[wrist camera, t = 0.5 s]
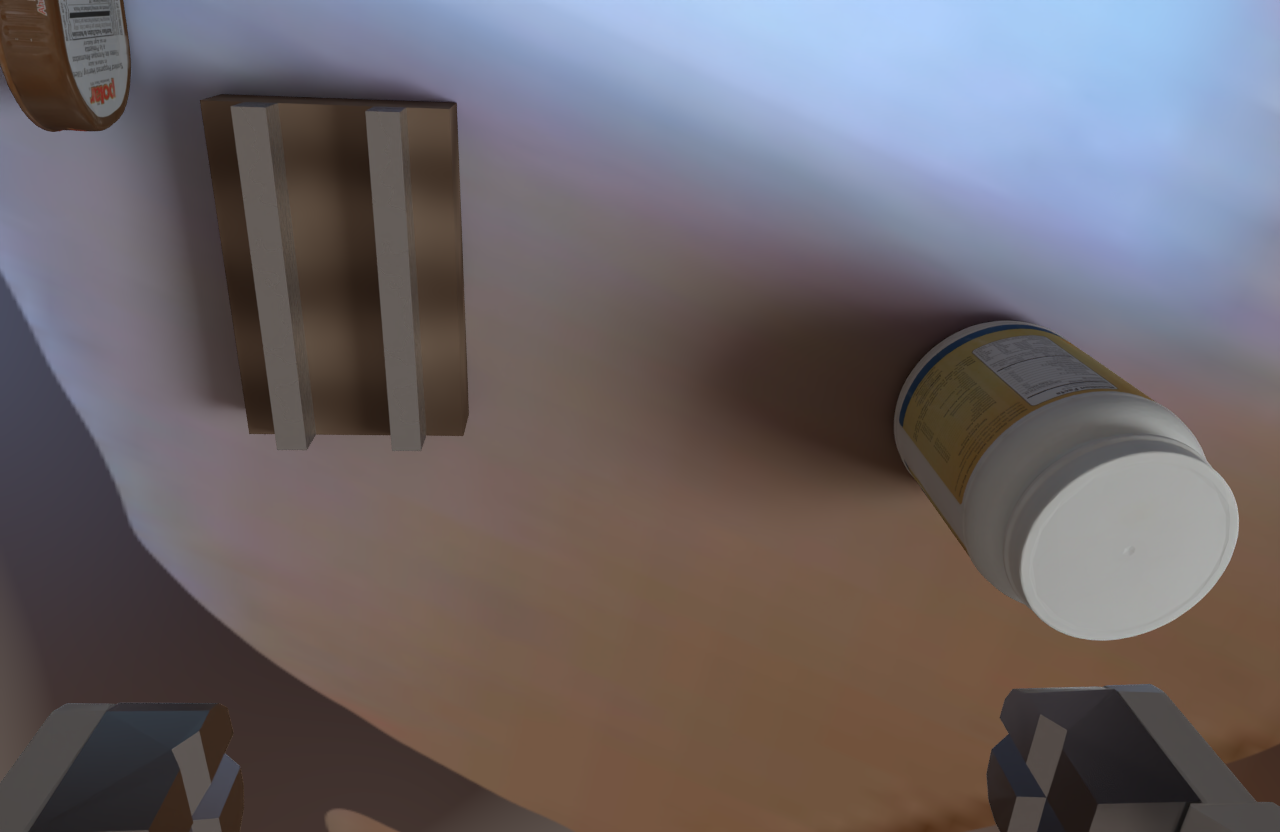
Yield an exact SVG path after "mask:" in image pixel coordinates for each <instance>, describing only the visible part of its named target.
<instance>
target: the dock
mask: <svg viewBox="0 0 1280 832" xmlns="http://www.w3.org/2000/svg"><path fill="white" fill-rule="evenodd" d="M200 104H201V111H202V117H203V124H204V131H205V138H206V144H207V151H208V158H209V165H210V171H211V178H212V185H213V192H214V198H215V205H216V212H217V219H218V225H219V232H220V239H221V246H222V252H223V259H224V266H225V273H226V279H227V286H228V293H229V300H230V306H231V313H232V320H233V327H234V333H235V340H236V347H237V354H238V360H239V367H240V374H241V381H242V387H243V394H244V401H245V408H246V414H247V421H248V428H249V434H275V438H276V446H277V450H307V449H308V447H309V446H310V444H311V442H312V441H313V439H314V437H315V436H316V434H323V435H391V446H392V451H421V450H422V447H423V444H424V441H425V438H426V435H432V436H463V435H464V431H465V427H466V423H467V419H468V416H469V407H468V381H467V355H466V330H465V304H464V279H463V253H462V227H461V202H460V176H459V151H458V125H457V103H452V102H424V101H396V100H368V99H340V98H312V97H285V96H257V95H229V94H220V95H217V96H213V97H210V98H206V99H203V100H200Z"/></svg>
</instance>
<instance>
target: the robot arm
mask: <svg viewBox="0 0 1280 832" xmlns="http://www.w3.org/2000/svg"><path fill="white" fill-rule="evenodd" d="M1000 719H1001V721H1002V722H1003V724H1004V726H1005V728H1006V729H1007V731H1008V733H1009V734H1008V735H1007V736H1006V737H1005V738H1004V739H1003V740H1002V741H1000V742H999V743H998V744H997V745H996V746H995V747H994V748H993V749H992V750H991V755H990V760H989V764H988V769H987V786H988V799H989V803H990V807H991V810H992V813H993V817H994V820H995V822H996V824H997V827H998V829H999V831H1000V832H1280V807H1279V806H1278V805H1276V804H1274V803H1272V802H1256V801H1255V799H1254V798H1253V797H1252V796H1251V795H1250V793H1249V792H1248V791H1247V790H1246V789H1245V788H1244V786H1243V785H1242V784H1241V783H1240V782H1239V780H1237V778H1236V777H1235V776H1234V774H1233V773H1232V772H1231V771H1230V770H1229V769H1228V767H1227V766H1226V765H1225V764H1224V763H1223V761H1222V760H1221V759H1220V758H1219V757H1218V755H1217V754H1216V753H1215V752H1214V751H1213V749H1212V748H1211V747H1210V746H1209V745H1208V744H1207V742H1206V741H1205V740H1204V739H1203V738H1202V736H1201V735H1200V734H1199V733H1198V732H1197V730H1196V729H1195V728H1194V727H1193V726H1192V725H1191V723H1190V722H1189V721H1188V720H1187V719H1186V717H1185V716H1184V715H1183V714H1182V713H1181V711H1180V710H1179V709H1178V708H1177V707H1176V706H1175V704H1174V703H1173V702H1172V701H1171V700H1170V698H1169V697H1168V696H1167V695H1166V694H1165V693H1164V692H1163V691H1162V690H1160V689H1158V688H1157V687H1155V686H1153V685H1151V684H1141V685H1113V686H1104V687H1066V688H1028V689H1012V691H1011V692H1010V693H1009V695H1008V696H1007V697H1006V698H1005V701H1004V704H1003V708H1002V711H1001V715H1000ZM232 736H233V729H232V725H231V721H230V717H229V713H228V708H226V707H225V706H223V705H221V704H219V703H118V704H68V703H67V704H65V705H63V706H62V707H60V708H58V709H57V710H55V711H53V712H52V713H51V714H50V715H49V717H48V718H47V720H46V721H45V722H44V724H43V725H42V726H41V728H40V729H39V730H38V732H37V733H36V735H35V736H34V737H33V739H32V740H31V741H30V743H29V744H28V746H27V747H26V748H25V750H24V751H23V752H22V754H21V755H20V757H19V758H18V759H17V761H16V762H15V764H14V765H13V766H12V768H11V769H10V770H9V772H8V773H7V775H6V776H5V777H4V779H3V780H2V781H1V783H0V832H240V827H241V821H242V816H243V810H244V785H243V779H242V774H241V768H240V766H239V765H238V764H237V763H235V762H234V761H233V760H232V759H231V758H230V757H228V756H227V755H226V754H225V751H226V749H227V747H228V744H229V742H230V740H231V738H232Z"/></svg>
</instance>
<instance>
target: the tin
mask: <svg viewBox="0 0 1280 832" xmlns="http://www.w3.org/2000/svg"><path fill="white" fill-rule="evenodd" d="M0 65H1V68H2V71H3V73H4V76H5V78H6V81H7V84H8V86H9V88H10V90H11V92H12V94H13V96H14V98H15V100H16V102H17V103H18V104H19V106H20V108H21V110H22V111H23V112H24V113H25V115H26V116H27V117H28V118H29V119H30V120H31V121H32V122H33V123H34V124H35V125H36V126H38V127H40V128H42V129H44V130H46V131H51V132H56V131H61V130H75V131H102V130H105V129H107V128H109V127H110V126H111V125H112V124H113V123H115V122H116V121H117V120H118V119H119V118H120V117H121V115H122V114H123V112H124V110H125V107H126V104H127V100H128V95H129V88H130V76H131V59H130V47H129V39H128V32H127V24H126V17H125V10H124V3H123V0H0Z"/></svg>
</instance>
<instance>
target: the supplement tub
mask: <svg viewBox="0 0 1280 832" xmlns="http://www.w3.org/2000/svg"><path fill="white" fill-rule="evenodd" d="M894 436H895V442H896V446H897V449H898V452H899V454H900V456H901V459H902V461H903V463H904V465H905V467H906V468H907V470H908V472H909V473H910V474H911V475H912V476H913V477H914V479H915V480H916V481H917V483H918V484H919V486H920V487H921V489H922V490H923V492H924V493H925V495H926V496H927V497H928V499H929V500H930V502H931V503H932V504H933V506H934V507H935V509H936V510H937V511H938V513H939V514H940V516H941V517H942V518H943V520H944V521H945V523H946V524H947V526H948V527H949V528H950V530H951V531H952V533H953V534H954V535H955V537H956V538H957V540H958V541H959V543H960V544H961V545H962V547H963V548H964V550H965V551H966V552H967V554H968V555H969V557H970V558H971V560H972V562H973V564H974V565H975V567H976V568H977V570H978V571H979V572H980V573H981V574H982V575H983V576H984V577H985V578H986V579H987V580H988V581H989V582H990V583H991V584H992V585H993V586H994V587H996V588H997V589H998V590H999V591H1001V592H1002V593H1003V594H1005V595H1007V596H1008V597H1010V598H1012V599H1014V600H1016V601H1018V602H1020V603H1023V604H1025V605H1026V606H1027V607H1029V608H1030V609H1031V610H1032V611H1033V612H1034V613H1035V614H1036V615H1037V616H1038V617H1039V618H1040V619H1041V620H1042V621H1043V622H1045V623H1046V624H1047V625H1049V626H1051V627H1052V628H1054V629H1055V630H1057V631H1059V632H1062V633H1064V634H1066V635H1069V636H1073V637H1077V638H1081V639H1088V640H1116V639H1123V638H1128V637H1132V636H1136V635H1139V634H1143V633H1146V632H1149V631H1152V630H1154V629H1156V628H1158V627H1161V626H1163V625H1165V624H1167V623H1169V622H1171V621H1172V620H1174V619H1176V618H1177V617H1179V616H1180V615H1182V614H1183V613H1185V612H1186V611H1188V610H1189V609H1190V608H1192V607H1193V606H1194V605H1195V604H1197V603H1198V602H1199V601H1200V600H1201V599H1202V598H1203V597H1204V596H1205V595H1206V594H1207V593H1208V592H1209V591H1210V590H1211V588H1212V587H1213V586H1214V585H1215V584H1216V582H1217V581H1218V579H1219V578H1220V577H1221V575H1222V574H1223V572H1224V570H1225V569H1226V567H1227V565H1228V564H1229V561H1230V559H1231V557H1232V554H1233V551H1234V548H1235V545H1236V541H1237V537H1238V529H1239V516H1238V509H1237V504H1236V500H1235V498H1234V495H1233V493H1232V491H1231V489H1230V487H1229V486H1228V484H1227V483H1226V482H1225V480H1224V479H1223V478H1222V477H1221V476H1220V474H1219V473H1218V472H1216V471H1215V470H1214V469H1213V468H1212V467H1211V465H1210V464H1209V463H1208V462H1207V461H1206V458H1205V455H1204V452H1203V450H1202V448H1201V446H1200V444H1199V442H1198V441H1197V439H1196V438H1195V436H1194V435H1193V433H1192V432H1191V431H1190V430H1189V428H1188V427H1187V426H1186V425H1185V424H1184V423H1183V422H1182V421H1181V420H1180V419H1179V418H1178V417H1177V416H1176V415H1175V414H1174V413H1172V412H1171V411H1170V410H1168V409H1167V408H1165V407H1163V406H1162V405H1160V404H1158V403H1157V402H1155V401H1154V400H1152V399H1151V398H1149V397H1148V396H1146V395H1145V394H1144V393H1142V392H1141V391H1139V390H1138V389H1136V388H1135V387H1133V386H1132V385H1131V384H1129V383H1128V382H1126V381H1125V380H1123V379H1122V378H1121V377H1119V376H1118V375H1116V374H1115V373H1113V372H1112V371H1110V370H1109V369H1108V368H1106V367H1105V366H1103V365H1102V364H1100V363H1099V362H1097V361H1096V360H1095V359H1093V358H1092V357H1090V356H1089V355H1087V354H1086V353H1084V352H1083V351H1081V350H1080V349H1078V348H1077V347H1075V346H1074V345H1073V344H1071V343H1070V342H1068V341H1067V340H1066V339H1065V338H1063V337H1062V336H1061V335H1059V334H1058V333H1056V332H1054V331H1052V330H1050V329H1048V328H1045V327H1043V326H1039V325H1036V324H1032V323H1027V322H1021V321H1007V320H1005V321H993V322H987V323H982V324H977V325H974V326H971V327H968V328H965V329H963V330H961V331H959V332H957V333H955V334H953V335H951V336H949V337H947V338H946V339H944V340H943V341H941V342H940V343H939V344H937V345H936V346H935V347H933V348H932V349H931V350H930V351H929V352H928V353H927V354H926V355H925V356H924V357H923V358H922V359H921V360H920V361H919V362H918V364H917V365H916V366H915V367H914V369H913V370H912V371H911V373H910V375H909V376H908V378H907V379H906V381H905V383H904V385H903V387H902V389H901V392H900V394H899V397H898V401H897V404H896V409H895V415H894Z"/></svg>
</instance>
